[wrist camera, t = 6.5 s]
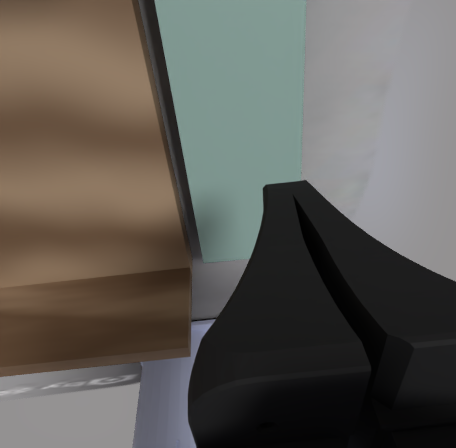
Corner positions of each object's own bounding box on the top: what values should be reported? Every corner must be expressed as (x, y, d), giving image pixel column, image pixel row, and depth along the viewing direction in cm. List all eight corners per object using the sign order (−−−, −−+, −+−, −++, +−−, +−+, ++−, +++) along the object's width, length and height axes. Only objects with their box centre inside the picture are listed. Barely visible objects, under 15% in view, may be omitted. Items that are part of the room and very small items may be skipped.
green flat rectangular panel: (203, 245, 23) (293, 236, 23) (203, 263, 22) (298, 253, 22) (135, -133, 13) (301, -154, 13) (128, -138, 12) (310, -160, 12)
